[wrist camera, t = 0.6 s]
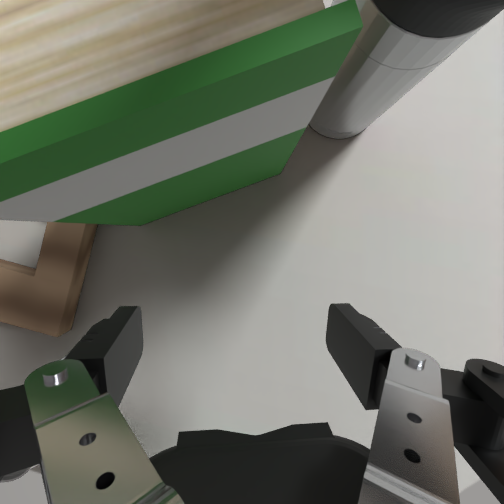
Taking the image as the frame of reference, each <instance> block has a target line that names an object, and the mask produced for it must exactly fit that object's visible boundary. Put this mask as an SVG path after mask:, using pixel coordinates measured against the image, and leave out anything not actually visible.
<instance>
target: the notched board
mask: <svg viewBox="0 0 504 504" xmlns="http://www.w3.org/2000/svg"><path fill="white" fill-rule="evenodd" d="M97 225H98V224H86V223H62V222H47V226H46V230H45V234H44V238H43V242H42V247H41V251H40V255H39V259H38V263H37V267H36V269H34V268H30V267H27V266H23V265H19V264H16V263H12V262H9V261H5V260H2V259H0V322H3V323H7V324H11V325H14V326H18V327H22V328H25V329H29V330H32V331H36V332H40V333H43V334H47V335H51V336H54V337H59V336H61V335H62V334H64V333H66V332H68V331H69V330H71V328H72V325H73V321H74V317H75V313H76V309H77V305H78V301H79V297H80V293H81V289H82V285H83V281H84V277H85V273H86V269H87V265H88V261H89V257H90V253H91V249H92V245H93V241H94V237H95V233H96V229H97Z"/></svg>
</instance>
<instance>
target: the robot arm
mask: <svg viewBox="0 0 504 504" xmlns="http://www.w3.org/2000/svg"><path fill="white" fill-rule="evenodd" d="M345 1H347V0H333V2H332V4H331V6H334V5H337V4H339V3H342V2H345ZM355 1H356V4H357V7H358V10H359V13H360V16H361V20H362V23H363V28H362V30H361V32H360V33H359V35H358V37H357V39H356V41H355V42H354V44H353V46H352V48H351V49H350V51H349V53H348V55H347V56H346V58H345V60H344V62H343V64H342V65H341V67H340V69H339V71H338V72H337V74H336V76H335V78H334V80H333V81H332V83H331V85H330V87H329V88H328V90H327V92H326V94H325V95H324V97H323V99H322V101H321V103H320V104H319V106H318V108H317V110H316V111H315V113H314V115H313V117H312V118H311V120H310V122H309V125H310V126H311V127H312V128H313V129H314V130H315V131H317V132H318V133H320V134H322V135H324V136H326V137H330V138H335V139H343V138H348V137H352V136H354V135H356V134H358V133H360V132H362V131H363V130H364V129H365V128H367V127H368V126H369V125H370V124H371V123H372V122H374V121H375V120H376V119H377V118H378V117H380V116H381V115H382V114H383V113H384V112H385V111H386V110H388V109H389V108H390V107H391V106H392V105H393V104H395V103H396V102H397V101H398V100H399V99H400V98H401V97H403V96H404V95H405V94H406V93H407V92H408V91H410V90H411V89H412V88H413V87H414V86H415V85H416V84H418V83H419V82H420V81H421V80H422V79H423V78H425V77H426V76H427V75H428V74H429V73H430V72H432V71H433V70H434V69H435V68H436V67H437V66H438V65H440V64H441V63H442V62H443V61H444V60H445V59H447V58H448V57H449V56H450V55H451V54H452V53H453V52H454V51H455V50H457V49H458V48H459V47H460V46H461V45H462V44H464V43H465V42H466V41H467V40H468V39H469V38H470V37H472V36H473V35H474V34H475V33H476V32H477V31H478V30H480V29H481V28H482V27H483V26H484V25H485V24H487V23H488V22H489V21H490V20H491V19H492V18H493V17H495V16H496V15H497V14H498V13H499V12H500V11H502V10H503V9H504V0H355ZM326 344H327V348H328V351H329V353H330V354H331V356H332V357H333V359H334V360H335V362H336V364H337V365H338V367H339V368H340V370H341V372H342V373H343V375H344V376H345V378H346V379H347V381H348V383H349V384H350V386H351V387H352V389H353V391H354V392H355V394H356V395H357V397H358V398H359V400H360V402H361V403H362V405H363V406H364V408H365V410H374V409H379V411H378V416H377V421H376V425H375V430H374V435H373V439H372V444H371V449H368V448H367V447H365V446H363V445H361V444H359V443H357V442H355V441H352V440H349V439H347V438H343V437H340V436H335V435H333V434H332V431H331V429H330V427H329V424H328V422H326V423H310V424H295V425H290V426H287V427H284V428H280V429H277V430H274V431H271V432H268V433H264V434H261V435H248V434H242V433H236V432H230V431H224V430H217V429H216V430H201V431H185V432H179V435H178V441H177V446H174V447H171V448H169V449H166V450H164V451H161V452H160V453H158V454H156V455H154V456H152V457H151V458H148V457H147V455H146V453H145V452H144V450H143V448H142V447H141V445H140V443H139V442H138V440H137V438H136V437H135V435H134V433H133V432H132V430H131V428H130V427H129V425H128V424H127V422H126V420H125V419H124V417H123V415H122V414H121V412H120V410H119V409H118V407H119V405H120V403H121V400H122V398H123V396H124V394H125V391H126V389H127V387H128V385H129V383H130V380H131V378H132V376H133V374H134V371H135V369H136V367H137V365H138V363H139V360H140V358H141V355H142V351H143V331H142V316H141V309H140V307H139V306H120V307H119V308H118V309H117V310H116V311H115V313H114V314H113V315H112V316H111V318H110V319H103V320H102V321H100V322H98V323H97V324H95V325H93V326H92V327H91V329H90V330H89V331H88V332H87V333H86V335H84V337H83V338H82V339H81V341H79V342H78V343H77V345H76V346H75V347H74V348H73V349H72V350H71V351H70V353H69V354H68V355H67V356H66V357H65V358H64V359H63V360H59V361H55V362H51V363H49V364H46V365H44V366H42V367H40V368H38V369H36V370H35V371H33V372H32V373H31V374H30V375H29V376H28V377H27V378H26V380H25V383H24V385H21V386H17V387H13V388H8V389H4V390H0V481H1V480H2V478H3V477H4V476H5V475H8V474H11V473H14V472H17V471H20V470H23V469H26V468H29V467H32V466H35V465H38V464H40V469H41V474H42V478H43V483H44V487H45V492H46V496H47V501H48V504H460V499H459V490H458V480H457V471H456V461H455V452H454V446H455V448H456V449H457V450H458V451H459V453H460V454H461V455H462V456H463V458H464V459H465V460H466V461H467V462H468V464H469V465H470V466H471V467H472V469H473V470H474V471H475V472H476V474H477V475H478V476H479V477H480V479H481V480H482V481H483V482H484V483H485V484H486V486H487V487H488V488H489V489H490V491H491V492H492V493H493V495H494V496H495V497H496V498H497V499H498V501H499V502H500V503H501V504H504V366H502V365H500V364H497V363H494V362H491V361H488V360H483V359H470V360H467V362H466V365H465V369H464V372H460V371H454V370H448V369H442V368H440V365H439V363H438V362H437V361H436V360H435V359H434V358H432V357H431V356H429V355H428V354H426V353H423V352H421V351H418V350H415V349H410V348H402V347H401V346H400V345H399V344H398V343H397V342H396V341H395V340H394V339H392V338H391V337H390V336H389V335H388V334H387V333H385V331H384V330H383V329H382V328H379V326H378V325H377V324H376V323H375V322H374V321H373V320H372V319H370V318H368V317H366V316H364V315H362V314H359V313H358V312H357V311H356V310H355V309H354V308H353V307H352V306H351V305H350V304H348V303H344V304H331V305H330V307H329V312H328V322H327V331H326Z"/></svg>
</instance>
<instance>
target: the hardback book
mask: <svg viewBox="0 0 504 504" xmlns="http://www.w3.org/2000/svg"><path fill="white" fill-rule="evenodd" d="M362 28H363V23H362V20H361V16H360V13H359V10H358V7H357V4H356V1H355V0H347V1H345V2H342V3H339V4H337V5H334V6H331V7H329V8H326V9H325V6H324V3H323V0H0V220H14V221H38V222H62V223H86V224H110V225H134V226H141V225H143V224H146V223H149V222H152V221H154V220H157V219H160V218H162V217H165V216H168V215H170V214H173V213H176V212H178V211H181V210H184V209H186V208H189V207H192V206H195V205H197V204H200V203H203V202H205V201H208V200H211V199H213V198H216V197H219V196H221V195H224V194H227V193H230V192H232V191H235V190H238V189H240V188H243V187H246V186H248V185H251V184H254V183H256V182H259V181H262V180H265V179H267V178H270V177H273V176H275V175H278V174H280V173H281V172H282V170H283V168H284V166H285V165H286V163H287V161H288V159H289V157H290V156H291V154H292V152H293V150H294V149H295V147H296V145H297V143H298V141H299V140H300V138H301V136H302V134H303V133H304V131H305V129H306V127H307V126H308V124H309V122H310V120H311V118H312V117H313V115H314V113H315V111H316V110H317V108H318V106H319V104H320V103H321V101H322V99H323V97H324V95H325V94H326V92H327V90H328V88H329V87H330V85H331V83H332V81H333V80H334V78H335V76H336V74H337V72H338V71H339V69H340V67H341V65H342V64H343V62H344V60H345V58H346V56H347V55H348V53H349V51H350V49H351V48H352V46H353V44H354V42H355V41H356V39H357V37H358V35H359V33H360V32H361V30H362Z"/></svg>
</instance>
